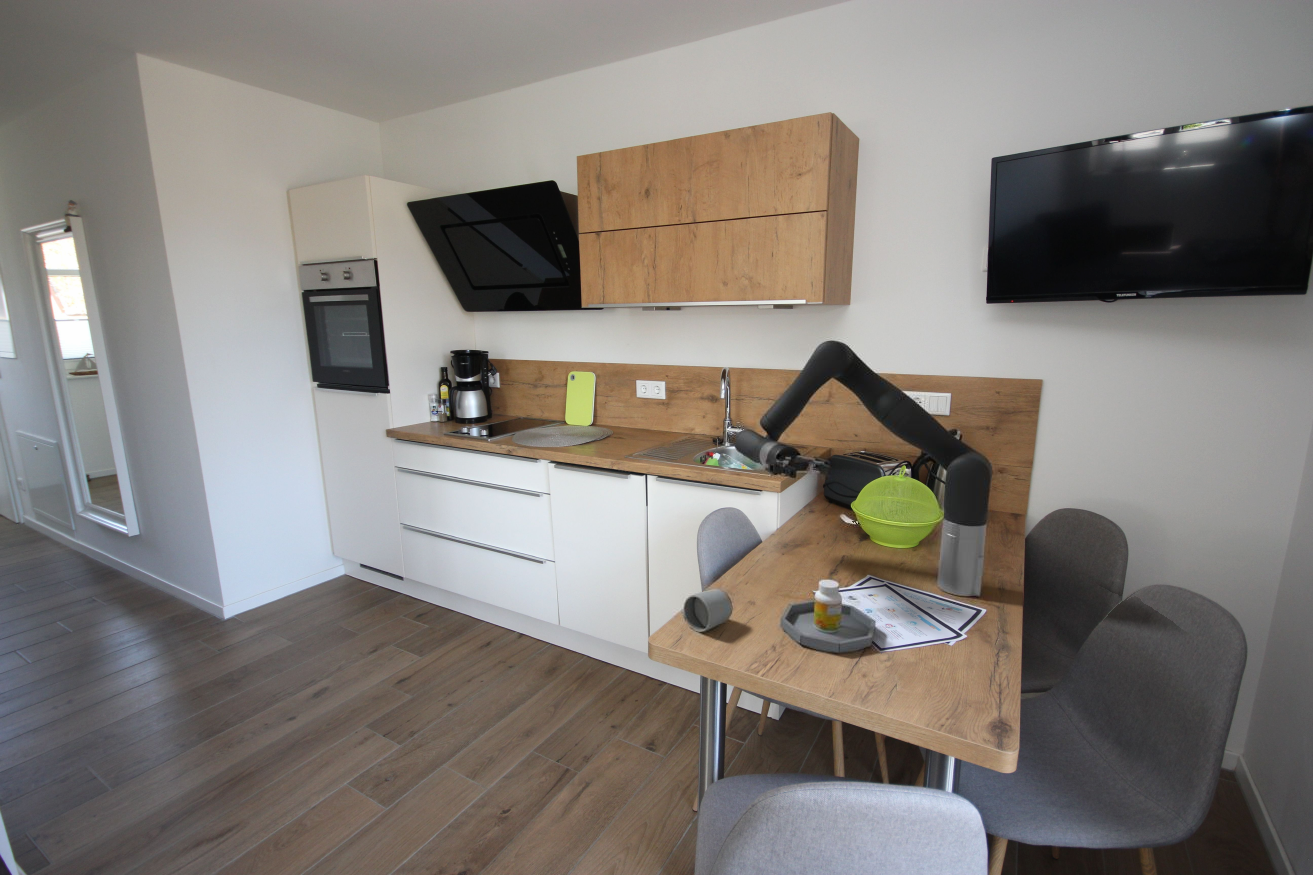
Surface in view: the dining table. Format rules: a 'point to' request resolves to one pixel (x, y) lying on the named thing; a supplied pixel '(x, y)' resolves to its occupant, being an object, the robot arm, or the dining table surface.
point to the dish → (848, 639)
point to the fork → (847, 519)
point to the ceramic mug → (707, 609)
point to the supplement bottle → (827, 607)
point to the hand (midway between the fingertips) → (812, 472)
